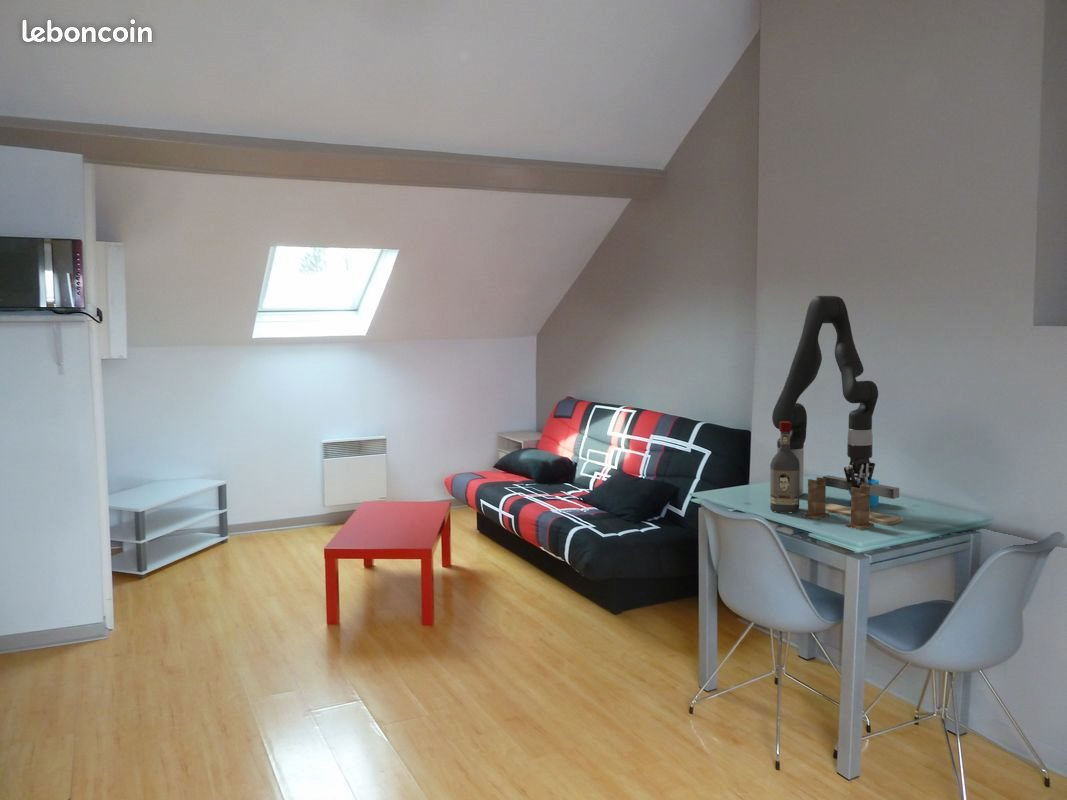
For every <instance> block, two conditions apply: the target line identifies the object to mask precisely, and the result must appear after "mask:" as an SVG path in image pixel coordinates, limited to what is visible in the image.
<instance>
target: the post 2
mask: <svg viewBox="0 0 1067 800" xmlns="http://www.w3.org/2000/svg"><path fill="white" fill-rule="evenodd" d="M869 504H870V487H869V486H864V485H860V488H855V487H851V495H850V508H851V517H850V522H848V523H845V527H846V526H848V527H847V528H850V527H852V528H851V529H854V528H856V530H858V529H860V530H861V529H862V530H865V529H868V527H869V528H871V527H874V526H875V522H871V521H869V512H870V507H869ZM864 528H865V529H864ZM862 530H861V531H862Z"/></svg>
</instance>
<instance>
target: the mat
mask: <svg viewBox="0 0 1067 800" xmlns="http://www.w3.org/2000/svg"><path fill="white" fill-rule="evenodd" d="M826 511H827V512H826ZM825 512H826V513H831V512H832V514H835V513H836V515H840V514H841V516H844V515H845V516H844V517H849V516H850V517H849V518H851V506H850V507H849V506H845V505H840V504H835V503H829V504H825ZM869 522H870V523H877V524H882V525H885V526H893V525H896V524H899V523H903V518H901V517H897V516H891V515H886V514H882V513H879V512H878V513H877V512H873V511H869Z"/></svg>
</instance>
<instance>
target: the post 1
mask: <svg viewBox="0 0 1067 800" xmlns="http://www.w3.org/2000/svg"><path fill="white" fill-rule="evenodd" d="M826 487H827V486H826V479H825V478H823V477H819V476H817V477H816V479H811V478H808V479H807V513H803V516H805V517H804V518H807V517H809V518H808V519H811V518H813V519H812V520H816V519H817V520H819V518H820V519H823V518H822V517H824V518H827V517H826V516H828V517H830V516H831V513H830V512H826V511H825V505H827V504H826V498H827V497H826V496H827V495H826V494H827V493H826V491H827V490H826Z"/></svg>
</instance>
